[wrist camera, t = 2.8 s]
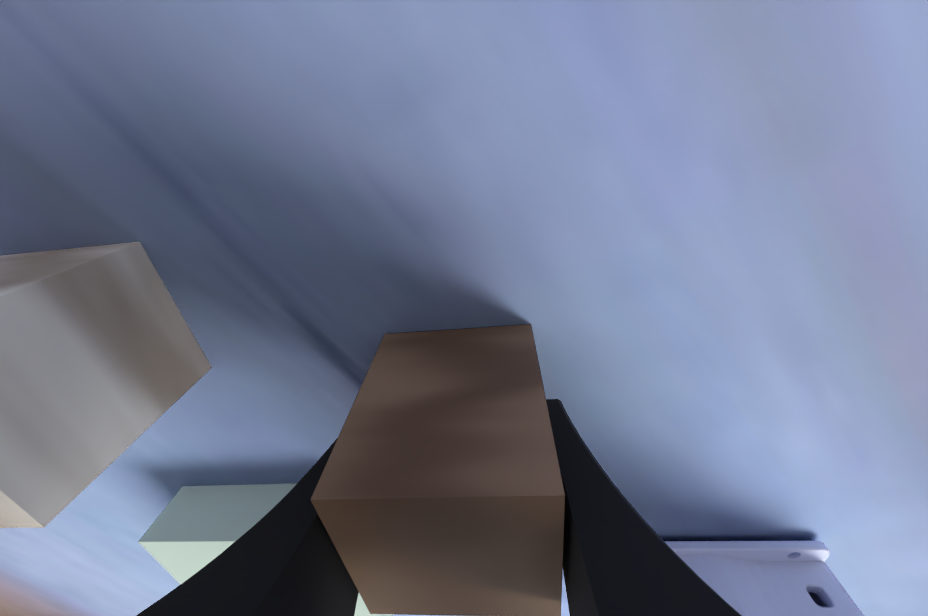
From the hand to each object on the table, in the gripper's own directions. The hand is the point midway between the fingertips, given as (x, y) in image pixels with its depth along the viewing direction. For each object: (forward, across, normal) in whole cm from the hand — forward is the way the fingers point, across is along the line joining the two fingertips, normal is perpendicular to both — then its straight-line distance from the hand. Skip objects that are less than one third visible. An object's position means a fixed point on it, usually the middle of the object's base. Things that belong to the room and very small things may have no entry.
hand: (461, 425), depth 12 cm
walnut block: (+2, 0, 0) cm, 2 cm away
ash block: (+2, +12, -4) cm, 13 cm away
